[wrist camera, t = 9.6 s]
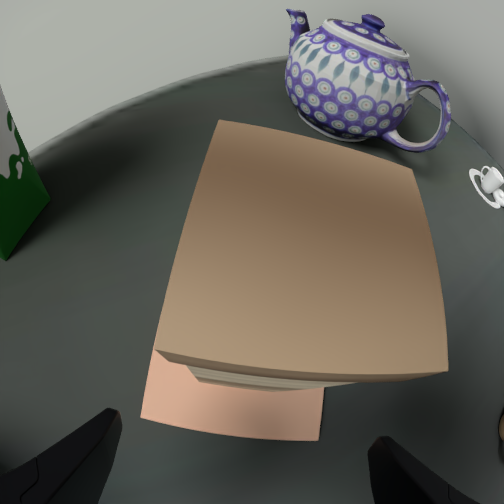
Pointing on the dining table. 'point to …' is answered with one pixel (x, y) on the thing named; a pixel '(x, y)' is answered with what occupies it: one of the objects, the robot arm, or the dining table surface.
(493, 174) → the teacup and saucer
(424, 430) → the dining table surface
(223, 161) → the ash post
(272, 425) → the terracotta tile
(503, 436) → the alarm clock
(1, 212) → the milk carton
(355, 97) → the teapot
